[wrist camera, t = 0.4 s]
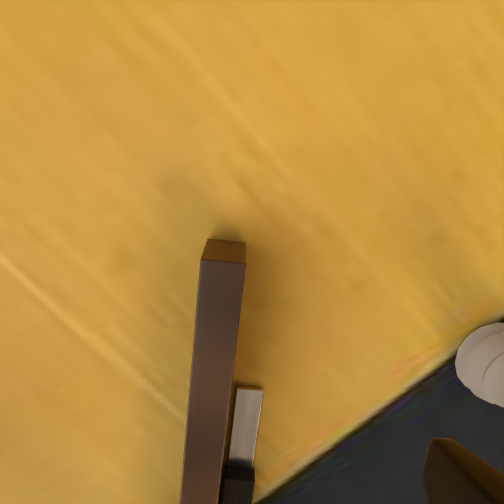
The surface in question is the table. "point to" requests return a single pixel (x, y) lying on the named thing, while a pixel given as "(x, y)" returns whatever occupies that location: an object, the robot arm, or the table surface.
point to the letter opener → (242, 447)
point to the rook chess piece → (483, 363)
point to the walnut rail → (212, 369)
